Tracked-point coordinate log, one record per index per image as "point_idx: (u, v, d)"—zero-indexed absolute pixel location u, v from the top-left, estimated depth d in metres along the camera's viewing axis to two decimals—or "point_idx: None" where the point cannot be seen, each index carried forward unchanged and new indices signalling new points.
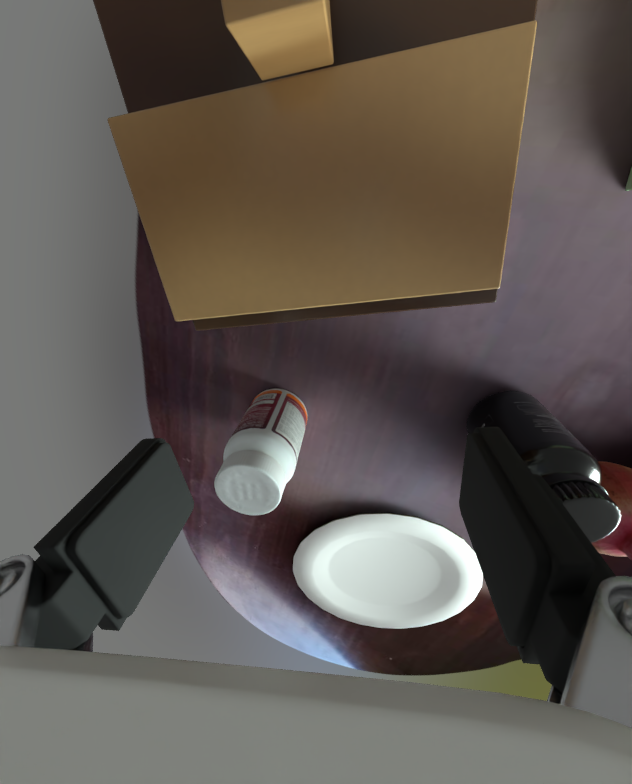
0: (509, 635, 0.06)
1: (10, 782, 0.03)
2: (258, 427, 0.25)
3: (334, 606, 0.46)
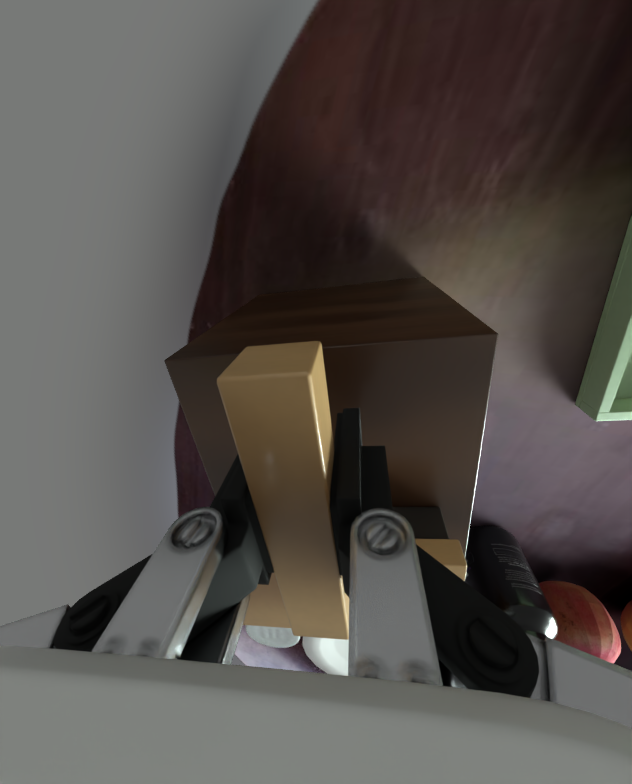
0: (339, 568, 0.08)
1: (10, 783, 0.03)
2: None
3: (339, 672, 0.51)
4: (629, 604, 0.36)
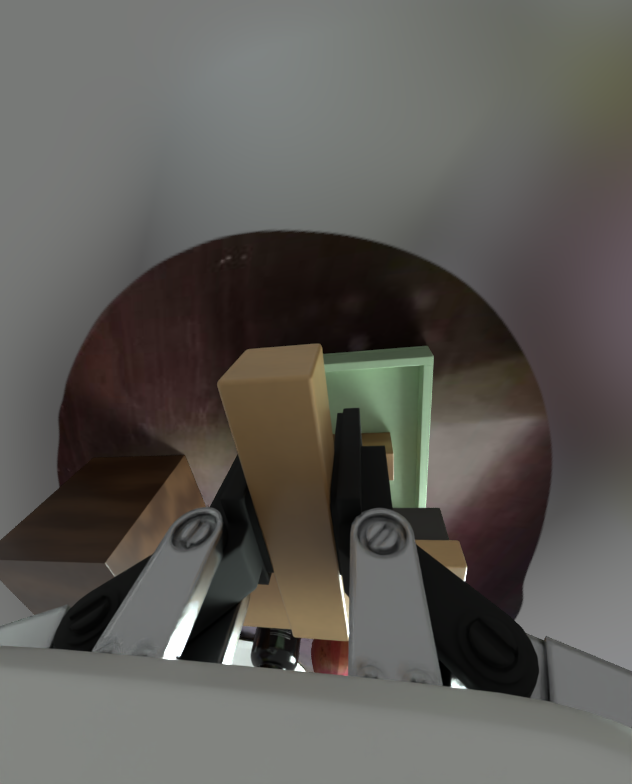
0: (339, 568, 0.08)
1: (10, 782, 0.03)
2: None
3: None
4: None
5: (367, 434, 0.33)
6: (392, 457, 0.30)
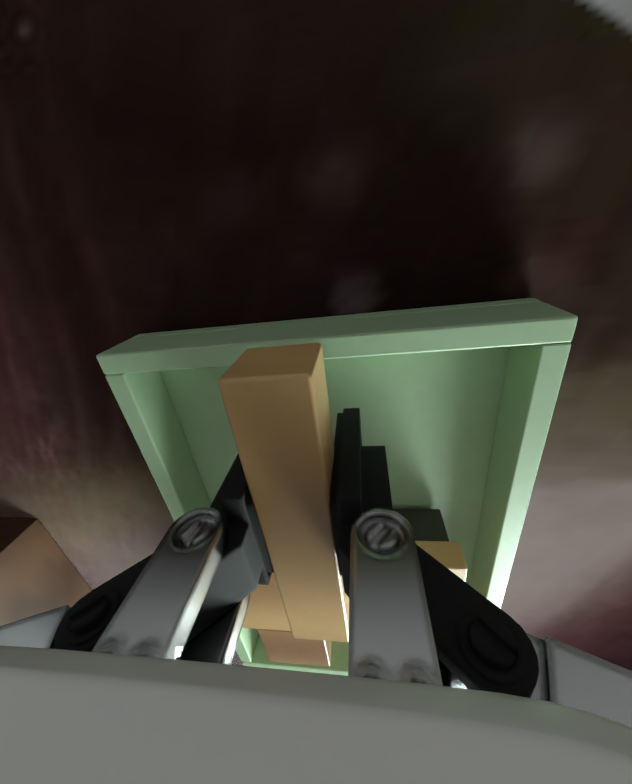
0: (339, 568, 0.08)
1: (10, 782, 0.03)
2: None
3: None
4: None
5: None
6: None
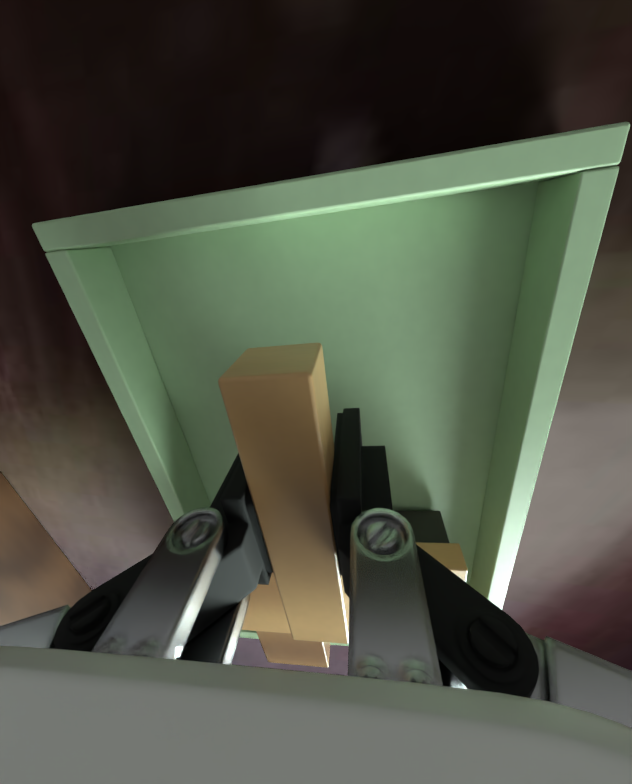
0: None
1: (10, 782, 0.03)
2: None
3: None
4: None
5: None
6: None
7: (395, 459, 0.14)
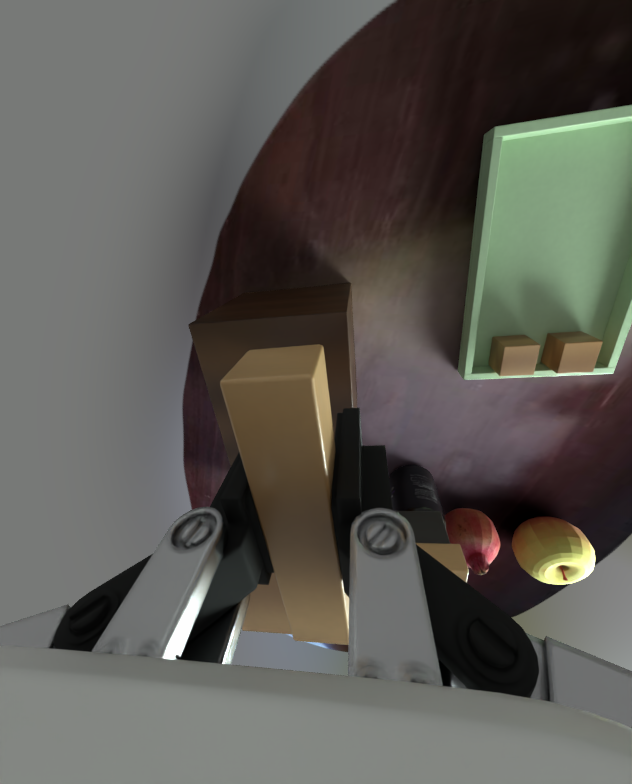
0: None
1: (10, 782, 0.03)
2: None
3: None
4: None
5: (559, 333, 0.35)
6: (600, 345, 0.32)
7: (585, 252, 0.31)
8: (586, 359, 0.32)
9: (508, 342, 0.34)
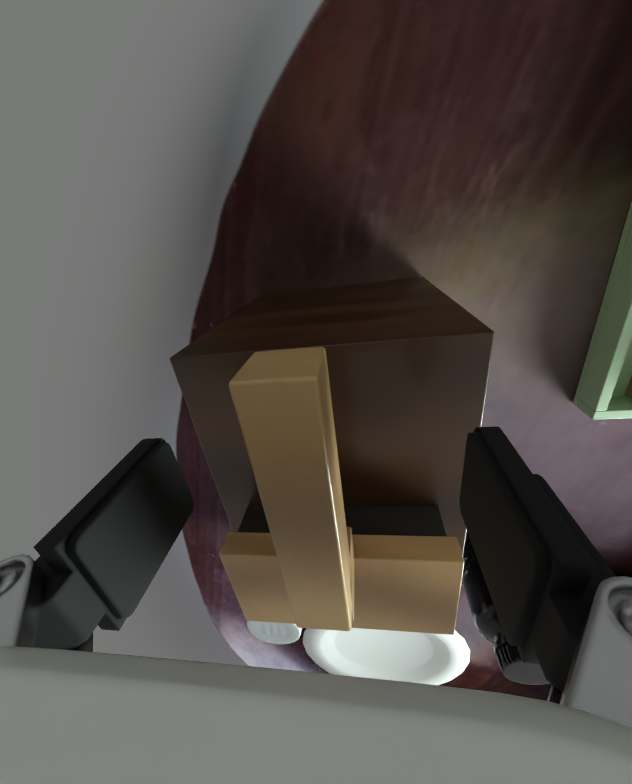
0: (509, 635, 0.06)
1: (10, 783, 0.03)
2: None
3: (339, 671, 0.52)
4: None
5: None
6: None
7: None
8: None
9: None
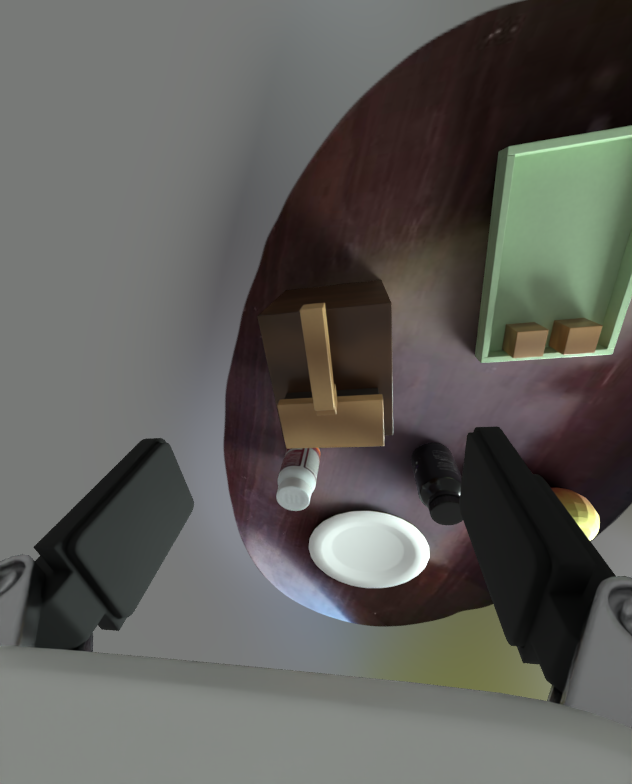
0: (509, 635, 0.06)
1: (10, 783, 0.03)
2: (296, 465, 0.48)
3: (335, 572, 0.69)
4: None
5: (565, 320, 0.40)
6: (600, 329, 0.37)
7: (586, 249, 0.36)
8: (588, 341, 0.37)
9: (520, 328, 0.39)
